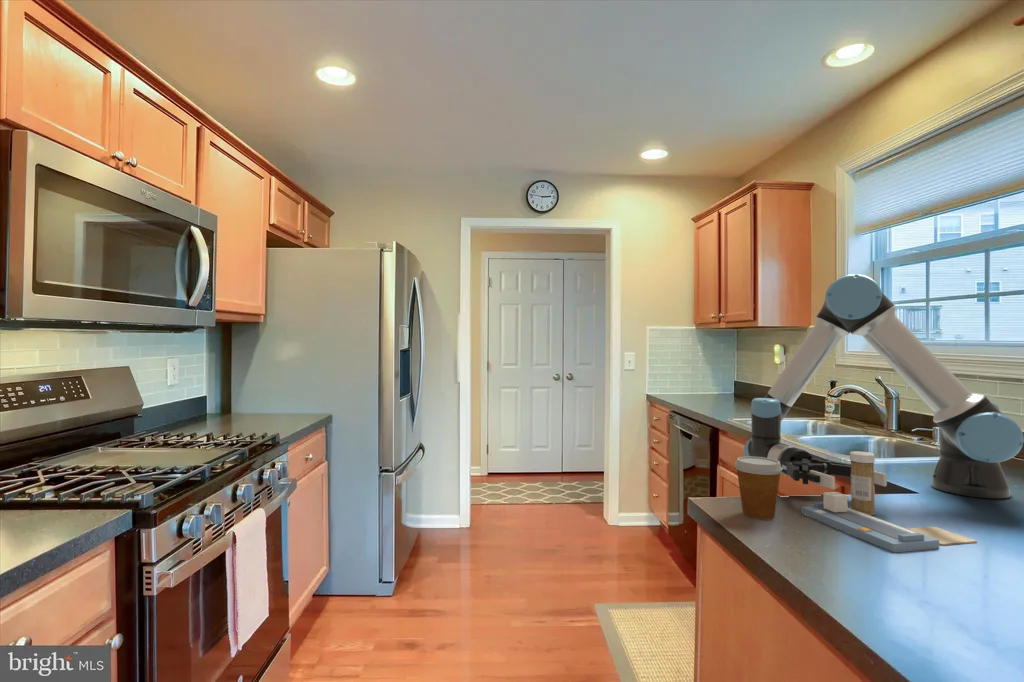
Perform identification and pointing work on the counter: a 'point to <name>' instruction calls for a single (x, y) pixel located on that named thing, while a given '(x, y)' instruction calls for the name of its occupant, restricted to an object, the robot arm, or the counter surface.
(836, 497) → the ivory tab
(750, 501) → the disposable coffee cup
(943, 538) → the cork coaster
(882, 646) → the counter surface
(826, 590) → the counter surface
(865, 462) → the sprinkles bottle
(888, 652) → the counter surface
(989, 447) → the robot arm
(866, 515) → the switch board
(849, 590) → the counter surface
